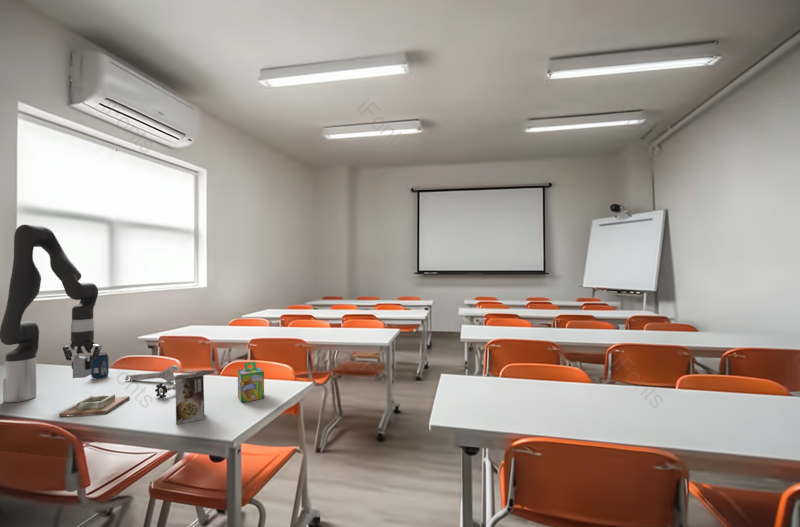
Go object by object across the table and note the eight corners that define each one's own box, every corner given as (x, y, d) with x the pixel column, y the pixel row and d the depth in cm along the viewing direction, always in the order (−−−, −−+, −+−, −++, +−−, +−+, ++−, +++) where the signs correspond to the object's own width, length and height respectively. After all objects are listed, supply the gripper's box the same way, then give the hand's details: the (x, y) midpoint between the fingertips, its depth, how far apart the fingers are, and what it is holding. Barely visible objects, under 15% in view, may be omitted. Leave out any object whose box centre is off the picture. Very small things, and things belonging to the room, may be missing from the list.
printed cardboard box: (204, 413, 141) (203, 371, 142) (204, 419, 136) (204, 375, 136) (176, 418, 137) (175, 374, 137) (175, 424, 131) (174, 379, 132)
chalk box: (241, 403, 152) (241, 366, 152) (237, 397, 159) (236, 362, 159) (264, 398, 157) (264, 363, 157) (259, 392, 164) (259, 359, 165)
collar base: (59, 417, 140) (59, 408, 140) (87, 401, 156) (87, 393, 156) (106, 413, 143) (106, 404, 143) (129, 399, 158) (129, 391, 158)
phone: (213, 371, 198) (187, 379, 184) (213, 373, 198) (187, 381, 184) (203, 370, 201) (177, 377, 187) (203, 371, 201) (177, 379, 187)
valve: (181, 389, 171) (155, 398, 160) (180, 374, 171) (154, 382, 160) (191, 391, 168) (165, 400, 157) (191, 376, 168) (165, 384, 157)
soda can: (96, 375, 194) (96, 352, 194) (111, 375, 195) (111, 352, 195) (88, 379, 187) (87, 355, 187) (103, 378, 188) (103, 355, 189)
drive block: (72, 378, 157) (72, 358, 157) (79, 374, 161) (79, 356, 161) (84, 377, 157) (84, 358, 157) (91, 374, 162) (91, 356, 162)
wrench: (129, 385, 186) (182, 381, 181) (125, 387, 184) (179, 382, 179) (127, 369, 186) (180, 364, 181) (124, 370, 184) (177, 365, 180)
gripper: (57, 331, 154) (56, 372, 154) (95, 330, 157) (95, 371, 157) (69, 328, 162) (69, 368, 162) (106, 327, 164) (106, 366, 164)
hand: (82, 369), depth 159 cm, fingers closed on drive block, 4 cm apart
